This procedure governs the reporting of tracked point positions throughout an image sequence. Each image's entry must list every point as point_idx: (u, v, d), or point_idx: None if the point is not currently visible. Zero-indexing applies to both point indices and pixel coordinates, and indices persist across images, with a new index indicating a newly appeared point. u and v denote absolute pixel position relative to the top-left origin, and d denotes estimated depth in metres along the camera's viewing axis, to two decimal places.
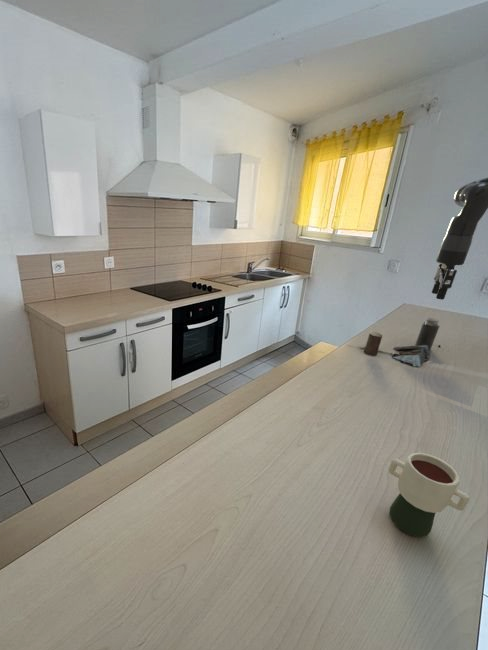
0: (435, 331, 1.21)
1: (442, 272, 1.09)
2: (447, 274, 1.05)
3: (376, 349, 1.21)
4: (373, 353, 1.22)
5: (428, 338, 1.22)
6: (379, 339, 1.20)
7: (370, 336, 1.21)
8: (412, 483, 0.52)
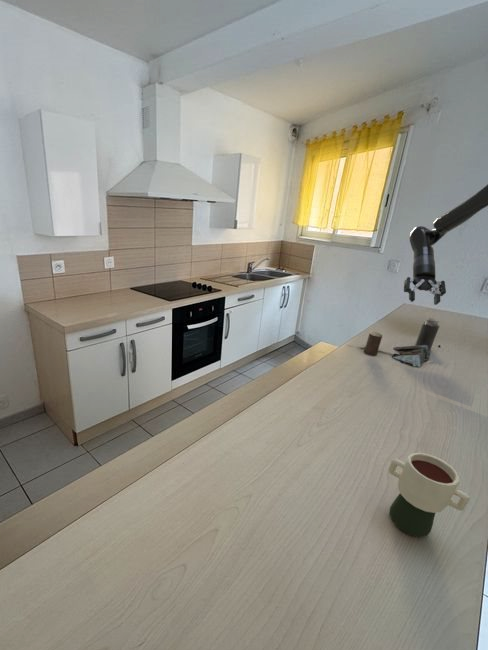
0: (435, 331, 1.21)
1: (416, 285, 1.35)
2: (404, 282, 1.35)
3: (376, 349, 1.21)
4: (373, 353, 1.22)
5: (428, 338, 1.22)
6: (379, 339, 1.20)
7: (370, 336, 1.21)
8: (412, 483, 0.52)
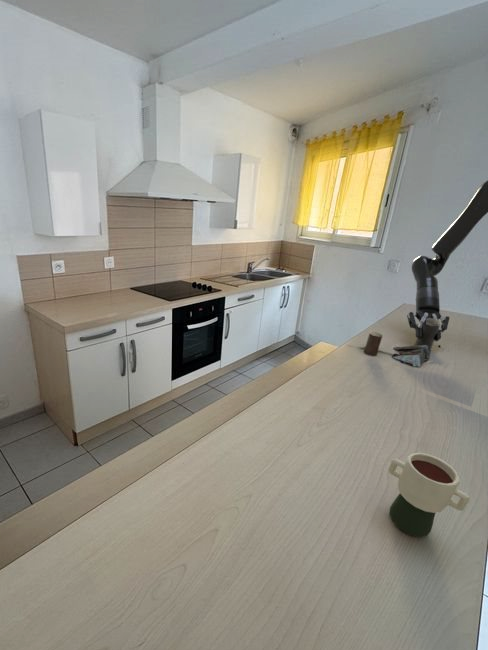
0: (435, 331, 1.21)
1: None
2: (408, 318, 1.28)
3: (376, 349, 1.21)
4: (373, 353, 1.22)
5: (428, 338, 1.22)
6: (379, 339, 1.20)
7: (370, 336, 1.21)
8: (412, 483, 0.52)
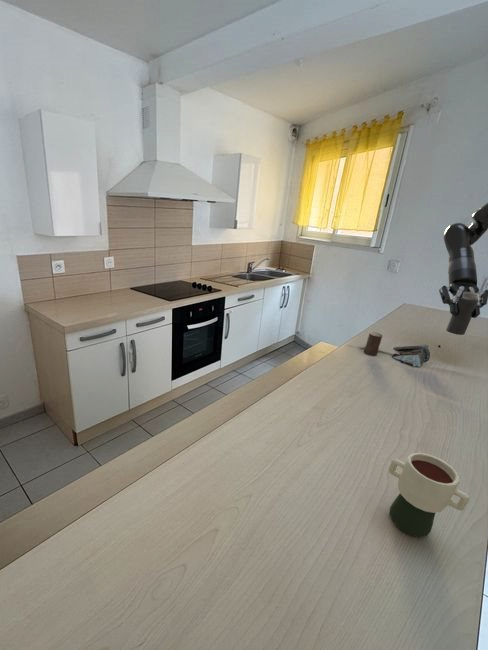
0: (473, 306, 1.06)
1: None
2: (440, 292, 1.13)
3: (376, 349, 1.21)
4: (373, 353, 1.22)
5: (465, 314, 1.07)
6: (379, 339, 1.20)
7: (370, 336, 1.21)
8: (412, 483, 0.52)
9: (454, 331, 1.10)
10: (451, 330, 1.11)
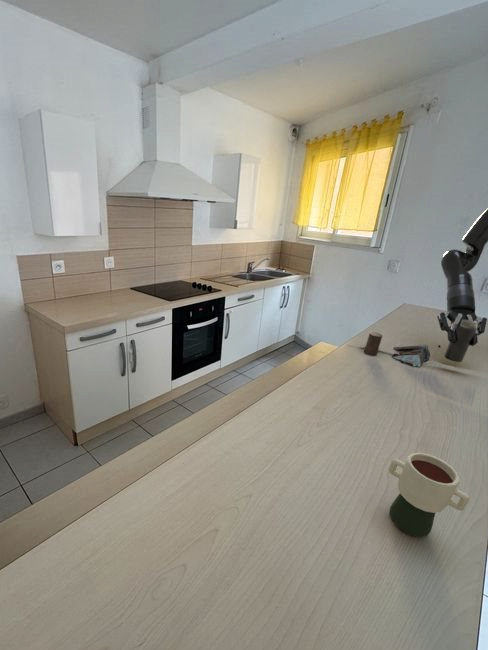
0: (471, 334, 1.06)
1: None
2: (438, 319, 1.14)
3: (376, 349, 1.21)
4: (373, 353, 1.22)
5: (463, 342, 1.07)
6: (379, 339, 1.20)
7: (370, 336, 1.21)
8: (412, 483, 0.52)
9: (452, 358, 1.10)
10: (449, 357, 1.11)
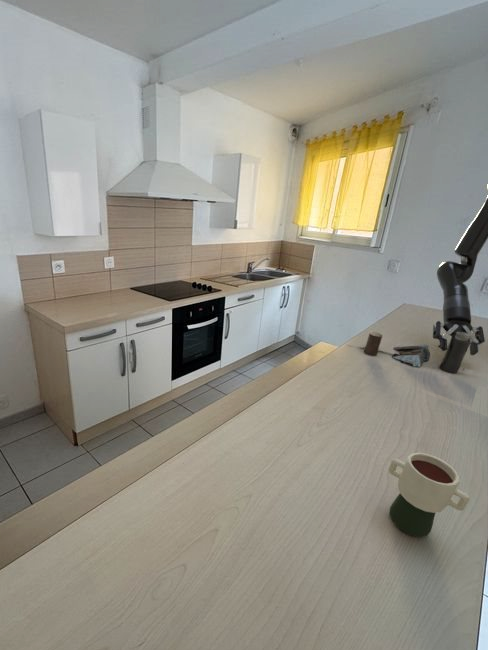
0: (466, 347, 1.08)
1: None
2: (433, 327, 1.15)
3: (376, 349, 1.21)
4: (373, 353, 1.22)
5: (458, 354, 1.09)
6: (379, 339, 1.20)
7: (370, 336, 1.21)
8: (412, 483, 0.52)
9: (447, 370, 1.12)
10: (444, 368, 1.13)
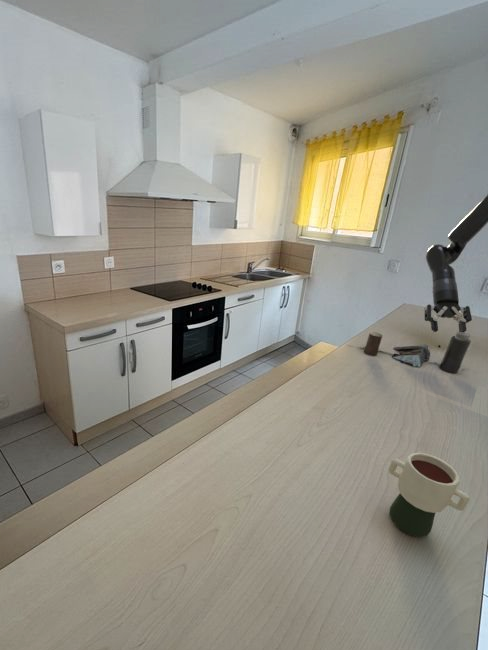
0: (466, 347, 1.08)
1: None
2: None
3: (376, 349, 1.21)
4: (373, 353, 1.22)
5: (458, 354, 1.09)
6: (379, 339, 1.20)
7: (370, 336, 1.21)
8: (412, 483, 0.52)
9: (447, 370, 1.12)
10: (444, 368, 1.13)
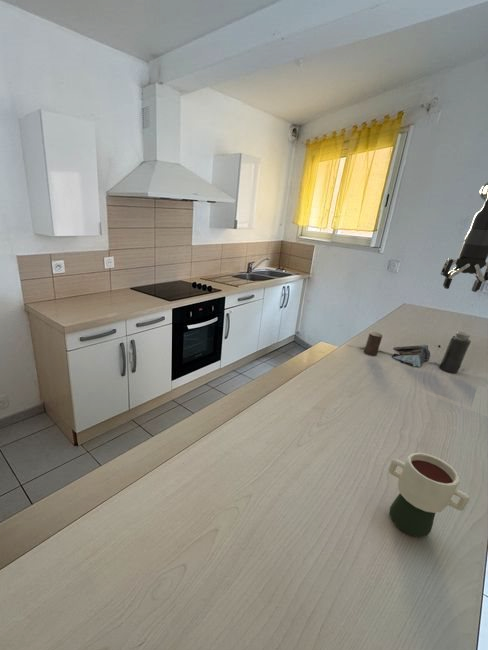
0: (466, 347, 1.08)
1: None
2: (445, 262, 1.14)
3: (376, 349, 1.21)
4: (373, 353, 1.22)
5: (458, 354, 1.09)
6: (379, 339, 1.20)
7: (370, 336, 1.21)
8: (412, 483, 0.52)
9: (447, 370, 1.12)
10: (444, 368, 1.13)
